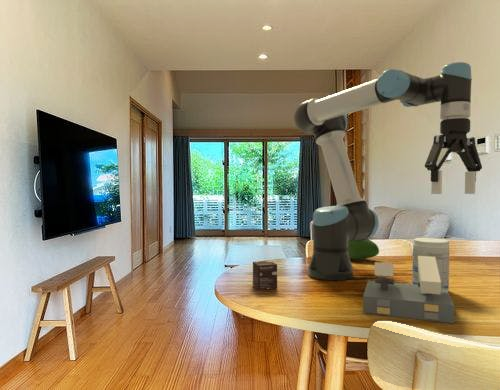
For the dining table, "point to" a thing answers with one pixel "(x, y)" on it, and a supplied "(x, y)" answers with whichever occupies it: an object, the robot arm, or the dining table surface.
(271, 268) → the box
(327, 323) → the dining table surface
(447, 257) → the supplement tub
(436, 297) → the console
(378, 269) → the switch left
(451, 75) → the robot arm
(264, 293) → the dining table surface
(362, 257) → the fruit
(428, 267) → the switch right
